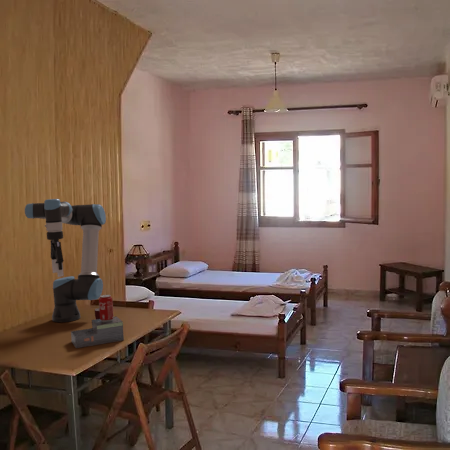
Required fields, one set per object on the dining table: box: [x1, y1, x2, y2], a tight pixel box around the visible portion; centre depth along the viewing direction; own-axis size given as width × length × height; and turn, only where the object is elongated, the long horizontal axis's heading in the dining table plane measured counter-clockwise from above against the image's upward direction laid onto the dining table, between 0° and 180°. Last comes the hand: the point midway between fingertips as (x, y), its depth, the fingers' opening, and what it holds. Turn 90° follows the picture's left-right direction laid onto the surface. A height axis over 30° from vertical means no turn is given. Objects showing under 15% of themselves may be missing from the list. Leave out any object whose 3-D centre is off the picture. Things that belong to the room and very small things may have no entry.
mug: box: [94, 307, 100, 319], centre depth 282 cm, size 11×8×10 cm
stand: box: [70, 316, 125, 349], centre depth 260 cm, size 13×22×12 cm, turn 115°
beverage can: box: [98, 294, 115, 322], centre depth 262 cm, size 6×6×12 cm
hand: (58, 274), depth 269 cm, fingers open, 13 cm apart
